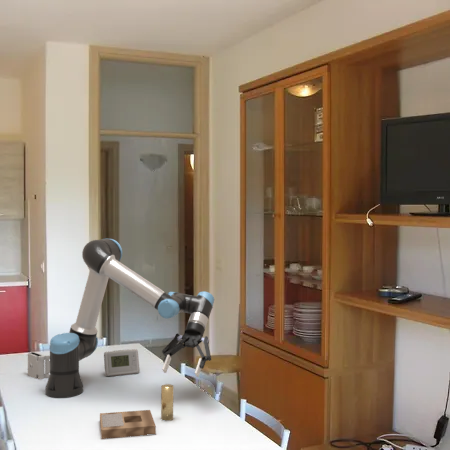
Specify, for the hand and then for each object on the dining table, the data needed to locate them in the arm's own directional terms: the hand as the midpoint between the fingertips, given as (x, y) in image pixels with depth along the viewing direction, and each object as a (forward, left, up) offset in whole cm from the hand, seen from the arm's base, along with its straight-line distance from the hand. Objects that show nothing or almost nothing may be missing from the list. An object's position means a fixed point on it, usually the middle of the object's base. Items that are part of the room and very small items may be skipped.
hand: (180, 373), depth 226 cm
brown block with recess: (-21, -14, -14) cm, 29 cm away
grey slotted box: (-54, +56, -14) cm, 79 cm away
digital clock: (-18, +53, -14) cm, 58 cm away
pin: (-6, -8, -14) cm, 17 cm away
